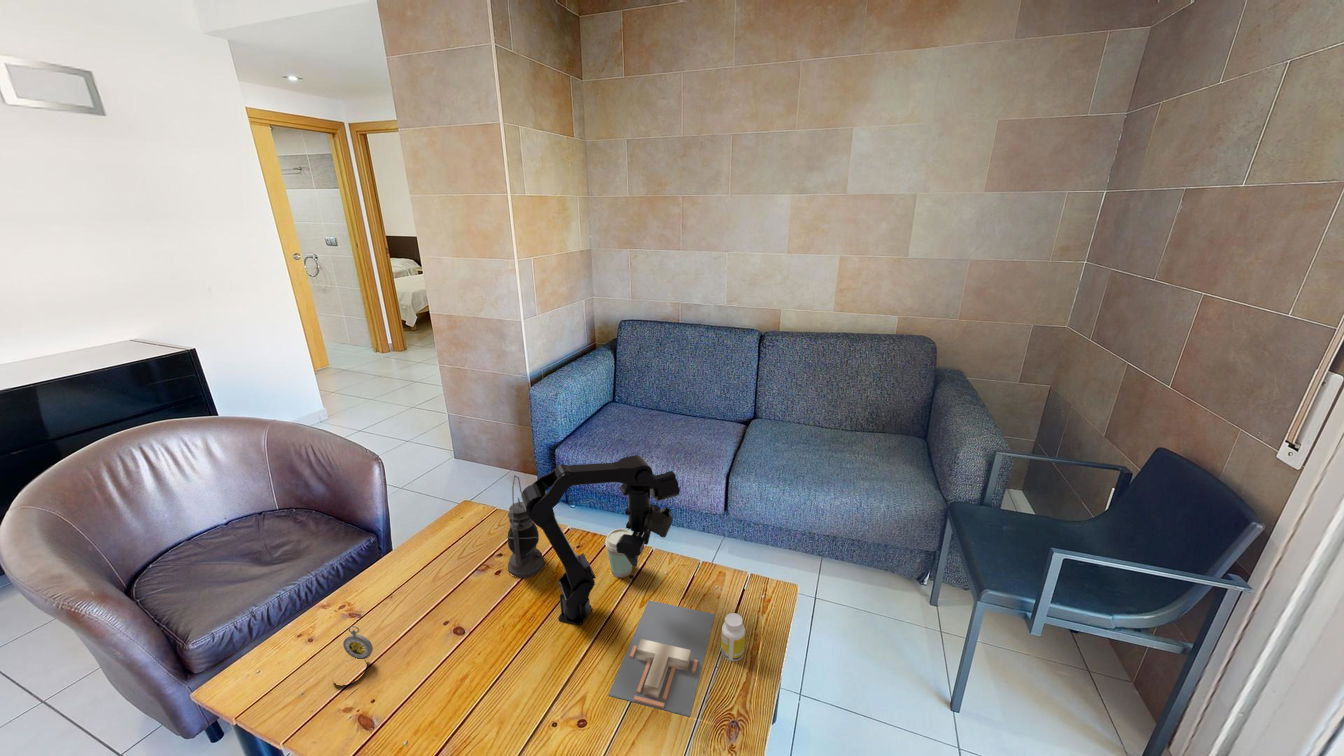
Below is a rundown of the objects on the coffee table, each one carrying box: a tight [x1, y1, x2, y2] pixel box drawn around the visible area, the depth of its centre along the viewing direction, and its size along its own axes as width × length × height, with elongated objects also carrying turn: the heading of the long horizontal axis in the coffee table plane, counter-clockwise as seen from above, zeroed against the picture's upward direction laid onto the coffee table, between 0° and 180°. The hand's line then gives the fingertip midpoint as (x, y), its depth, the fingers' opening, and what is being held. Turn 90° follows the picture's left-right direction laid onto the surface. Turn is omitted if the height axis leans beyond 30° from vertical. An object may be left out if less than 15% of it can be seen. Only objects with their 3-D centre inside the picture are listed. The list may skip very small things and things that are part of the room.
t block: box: [637, 639, 691, 698], centre depth 110 cm, size 12×11×3 cm
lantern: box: [506, 474, 546, 579], centre depth 140 cm, size 12×11×30 cm
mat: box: [607, 599, 716, 719], centre depth 116 cm, size 18×28×1 cm, turn 165°
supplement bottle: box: [720, 612, 746, 662], centre depth 114 cm, size 5×5×10 cm
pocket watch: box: [342, 625, 374, 660], centre depth 110 cm, size 8×8×10 cm
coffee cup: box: [604, 527, 633, 578], centre depth 140 cm, size 8×8×12 cm
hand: (640, 554), depth 131 cm, fingers open, 9 cm apart
